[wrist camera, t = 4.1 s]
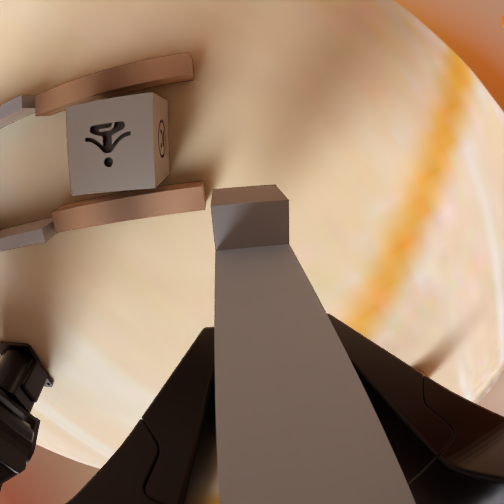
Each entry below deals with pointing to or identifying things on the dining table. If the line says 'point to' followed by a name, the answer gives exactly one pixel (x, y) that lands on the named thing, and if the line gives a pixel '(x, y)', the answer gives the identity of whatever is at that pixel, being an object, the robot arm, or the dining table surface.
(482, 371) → the dining table surface
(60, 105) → the slot rails
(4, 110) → the box
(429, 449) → the robot arm
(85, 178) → the dice cube
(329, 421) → the grey notched beam
